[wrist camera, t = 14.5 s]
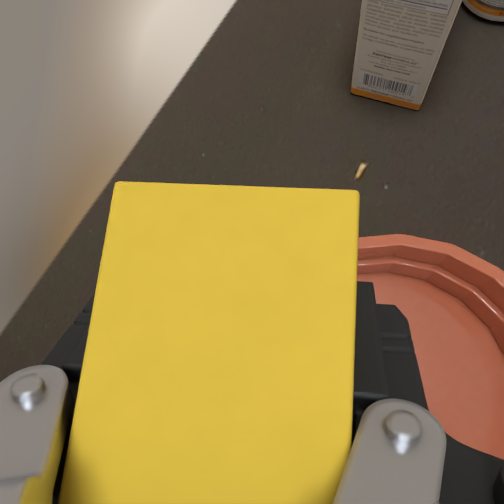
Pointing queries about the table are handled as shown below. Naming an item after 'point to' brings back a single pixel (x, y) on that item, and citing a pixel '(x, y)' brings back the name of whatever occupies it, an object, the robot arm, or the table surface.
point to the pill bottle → (487, 9)
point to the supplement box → (400, 48)
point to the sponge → (218, 348)
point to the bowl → (447, 329)
